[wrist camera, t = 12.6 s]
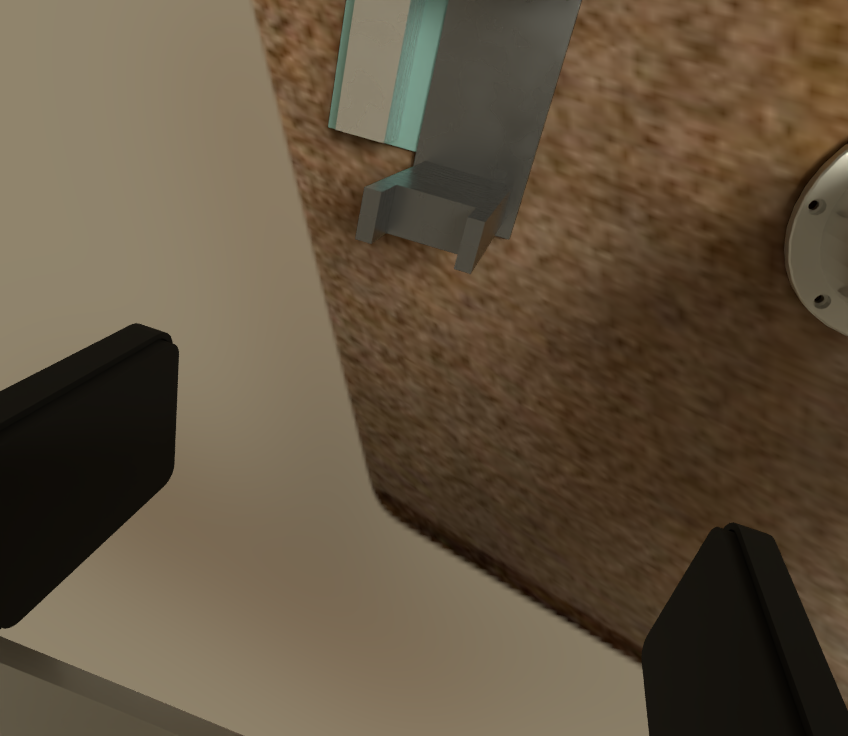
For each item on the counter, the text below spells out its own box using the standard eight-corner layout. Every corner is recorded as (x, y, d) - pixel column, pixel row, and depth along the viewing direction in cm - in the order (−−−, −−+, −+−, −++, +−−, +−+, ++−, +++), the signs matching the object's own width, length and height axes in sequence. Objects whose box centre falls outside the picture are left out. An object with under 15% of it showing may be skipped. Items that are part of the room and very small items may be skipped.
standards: (607, -84, 30) (620, -184, 19) (510, 236, 38) (480, 294, 27) (476, -114, 31) (418, -226, 20) (407, 206, 39) (338, 251, 28)
